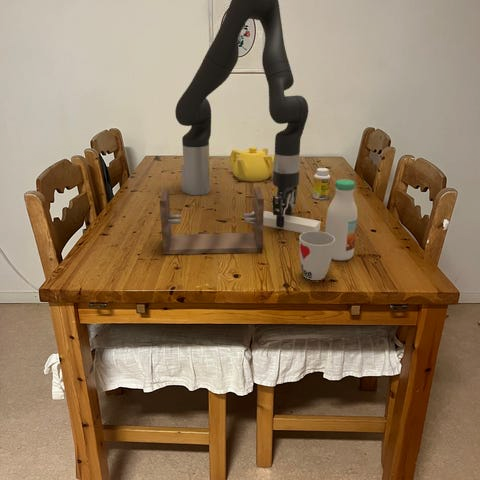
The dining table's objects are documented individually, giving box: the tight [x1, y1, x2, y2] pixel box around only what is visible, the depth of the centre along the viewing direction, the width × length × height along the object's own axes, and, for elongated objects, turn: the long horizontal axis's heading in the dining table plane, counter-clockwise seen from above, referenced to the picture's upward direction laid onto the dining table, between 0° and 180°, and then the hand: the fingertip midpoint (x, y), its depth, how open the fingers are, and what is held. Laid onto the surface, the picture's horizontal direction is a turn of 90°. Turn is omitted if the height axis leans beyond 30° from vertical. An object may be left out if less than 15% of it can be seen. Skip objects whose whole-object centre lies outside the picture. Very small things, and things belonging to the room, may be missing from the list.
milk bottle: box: [324, 178, 359, 261], centre depth 118 cm, size 8×8×20 cm
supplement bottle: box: [312, 167, 331, 201], centre depth 161 cm, size 6×6×10 cm
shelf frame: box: [159, 186, 265, 255], centre depth 123 cm, size 26×10×15 cm, turn 94°
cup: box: [298, 230, 335, 281], centre depth 109 cm, size 8×8×10 cm
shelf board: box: [248, 210, 321, 234], centre depth 139 cm, size 21×5×3 cm, turn 62°
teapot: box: [228, 146, 275, 183], centre depth 183 cm, size 17×17×12 cm
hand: (284, 223), depth 139 cm, fingers open, 5 cm apart
